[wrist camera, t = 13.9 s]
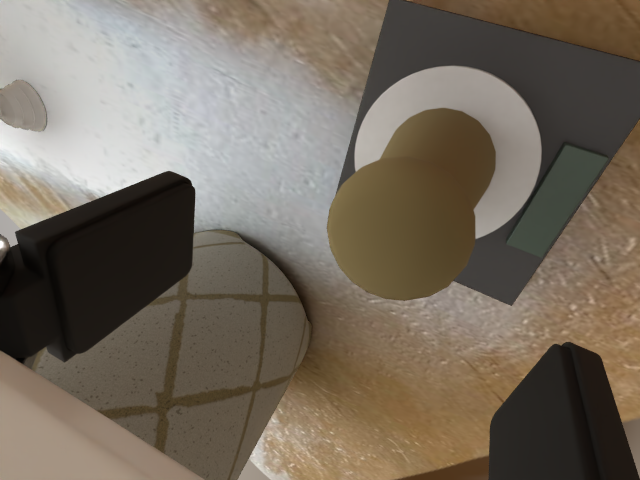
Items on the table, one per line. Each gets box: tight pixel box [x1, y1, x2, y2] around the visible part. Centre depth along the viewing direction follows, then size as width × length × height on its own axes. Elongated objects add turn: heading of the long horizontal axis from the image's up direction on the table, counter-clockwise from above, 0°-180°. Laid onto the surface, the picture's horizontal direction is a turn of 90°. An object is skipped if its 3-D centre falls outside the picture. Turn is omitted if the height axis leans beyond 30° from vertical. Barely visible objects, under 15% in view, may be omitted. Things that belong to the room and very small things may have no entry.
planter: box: [32, 230, 312, 480], centre depth 30 cm, size 19×19×20 cm
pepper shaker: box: [327, 108, 496, 301], centre depth 17 cm, size 6×6×11 cm
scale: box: [335, 0, 640, 306], centre depth 22 cm, size 14×13×3 cm
